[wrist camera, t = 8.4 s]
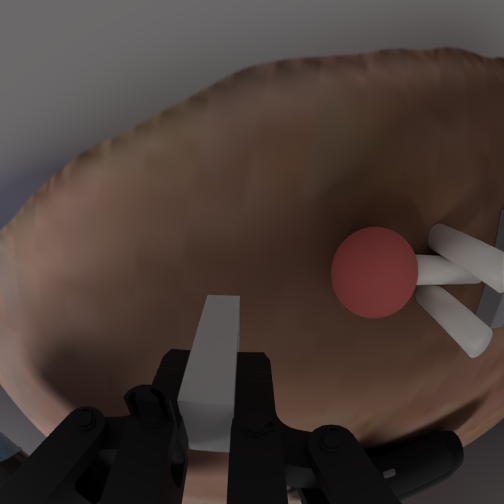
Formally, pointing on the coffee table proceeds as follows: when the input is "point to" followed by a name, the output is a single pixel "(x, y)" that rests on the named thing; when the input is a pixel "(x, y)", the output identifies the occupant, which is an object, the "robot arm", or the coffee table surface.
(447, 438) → the portable speaker
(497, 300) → the back wall
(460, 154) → the coffee table surface
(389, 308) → the ball
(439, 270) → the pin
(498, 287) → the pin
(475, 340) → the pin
